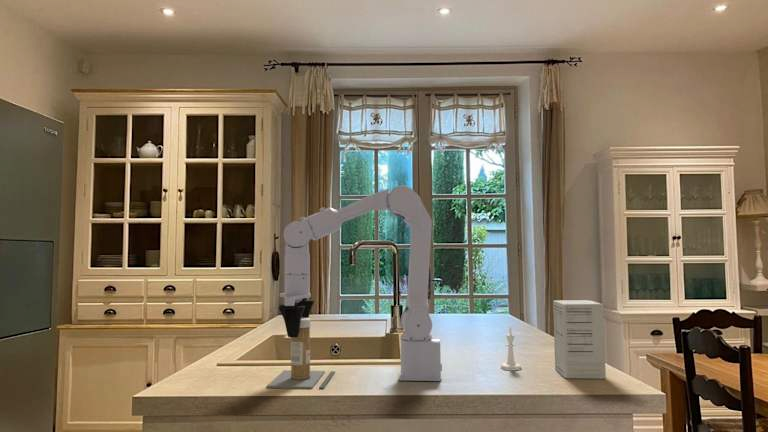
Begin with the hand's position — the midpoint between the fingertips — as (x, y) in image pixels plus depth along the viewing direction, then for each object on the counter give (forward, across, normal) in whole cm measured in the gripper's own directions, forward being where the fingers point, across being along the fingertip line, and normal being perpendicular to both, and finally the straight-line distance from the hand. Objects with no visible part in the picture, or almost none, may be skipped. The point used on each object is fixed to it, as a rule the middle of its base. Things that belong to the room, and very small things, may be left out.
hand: (297, 334), depth 122 cm
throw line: (+10, 0, +7) cm, 12 cm away
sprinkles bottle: (+10, 0, +1) cm, 10 cm away
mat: (+10, 0, 0) cm, 10 cm away
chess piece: (+11, -14, +50) cm, 53 cm away
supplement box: (+11, -9, +65) cm, 66 cm away
